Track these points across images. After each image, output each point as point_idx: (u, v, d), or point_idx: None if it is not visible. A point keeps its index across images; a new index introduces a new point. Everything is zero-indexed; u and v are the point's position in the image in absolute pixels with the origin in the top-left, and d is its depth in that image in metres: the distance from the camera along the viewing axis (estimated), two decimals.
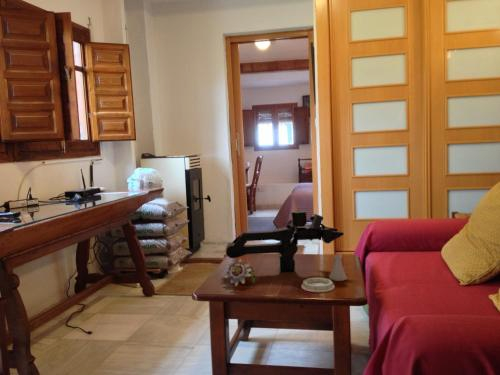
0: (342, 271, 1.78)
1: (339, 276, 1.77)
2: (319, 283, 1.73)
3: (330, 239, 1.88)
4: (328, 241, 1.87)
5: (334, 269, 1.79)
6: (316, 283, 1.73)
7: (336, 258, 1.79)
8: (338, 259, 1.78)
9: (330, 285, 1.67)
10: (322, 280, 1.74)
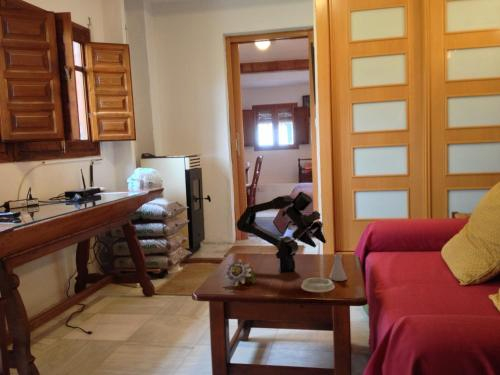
0: (342, 271, 1.78)
1: (339, 276, 1.77)
2: (319, 283, 1.73)
3: (298, 238, 1.81)
4: (294, 237, 1.81)
5: (334, 269, 1.79)
6: (316, 283, 1.73)
7: (336, 258, 1.79)
8: (338, 259, 1.78)
9: (330, 285, 1.67)
10: (322, 280, 1.74)
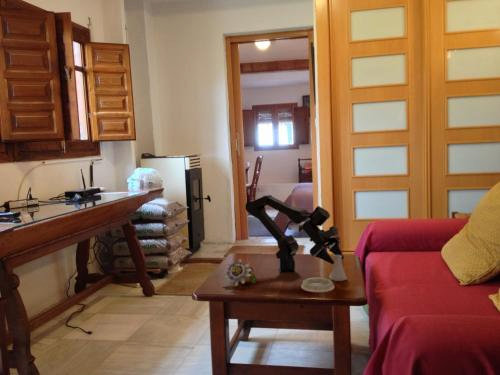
0: (342, 271, 1.78)
1: (339, 276, 1.77)
2: (319, 283, 1.73)
3: None
4: (312, 253, 1.76)
5: (334, 269, 1.79)
6: (316, 283, 1.73)
7: (336, 258, 1.79)
8: (338, 259, 1.78)
9: (330, 285, 1.67)
10: (322, 280, 1.74)
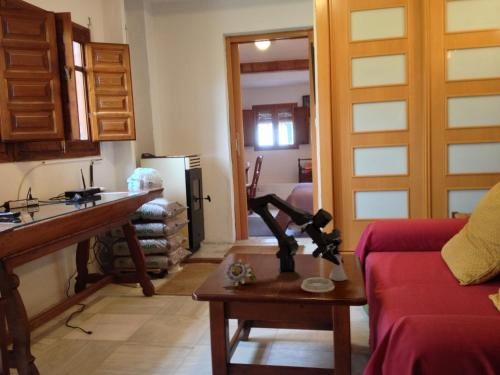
0: (342, 271, 1.78)
1: (339, 276, 1.77)
2: (319, 283, 1.73)
3: (322, 255, 1.78)
4: (314, 256, 1.76)
5: (334, 269, 1.79)
6: (316, 283, 1.73)
7: None
8: (338, 259, 1.78)
9: (330, 285, 1.67)
10: (322, 280, 1.74)
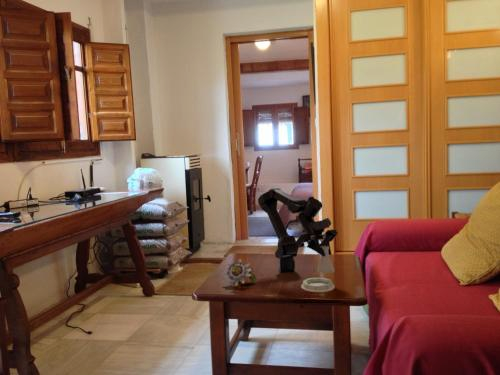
0: (328, 263, 1.70)
1: (324, 268, 1.70)
2: (319, 283, 1.73)
3: (307, 245, 1.73)
4: (297, 245, 1.71)
5: (320, 260, 1.72)
6: (316, 283, 1.73)
7: None
8: (324, 250, 1.71)
9: (330, 285, 1.67)
10: (322, 280, 1.74)
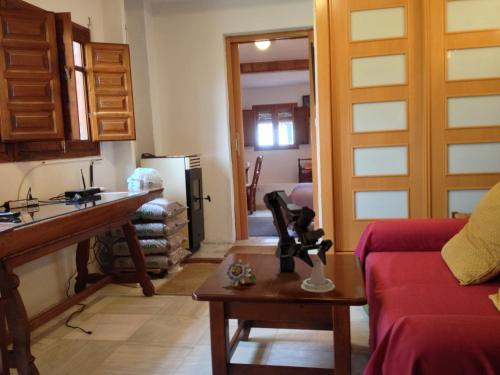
0: (319, 278, 1.68)
1: (315, 282, 1.68)
2: None
3: (297, 255, 1.71)
4: (289, 254, 1.71)
5: (311, 274, 1.70)
6: None
7: (314, 263, 1.69)
8: (315, 264, 1.69)
9: (330, 285, 1.67)
10: None
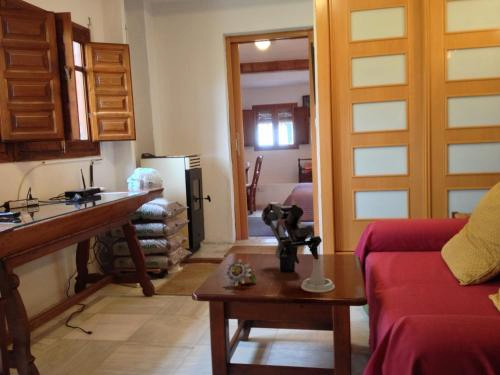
0: (319, 278, 1.68)
1: (315, 282, 1.68)
2: None
3: (283, 252, 1.78)
4: (279, 250, 1.78)
5: (311, 274, 1.70)
6: None
7: (314, 263, 1.69)
8: (315, 264, 1.69)
9: (330, 285, 1.67)
10: None
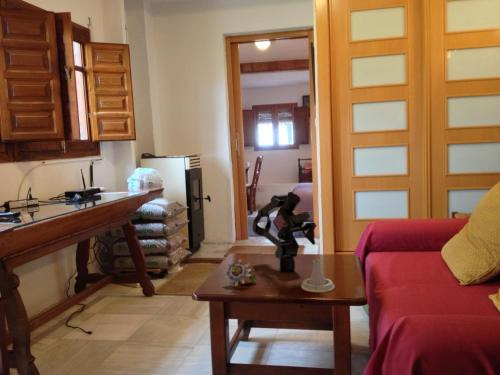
0: (319, 278, 1.68)
1: (315, 282, 1.68)
2: None
3: (282, 237, 1.83)
4: (278, 236, 1.83)
5: (311, 274, 1.70)
6: None
7: (314, 263, 1.69)
8: (315, 264, 1.69)
9: (330, 285, 1.67)
10: None
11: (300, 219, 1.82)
